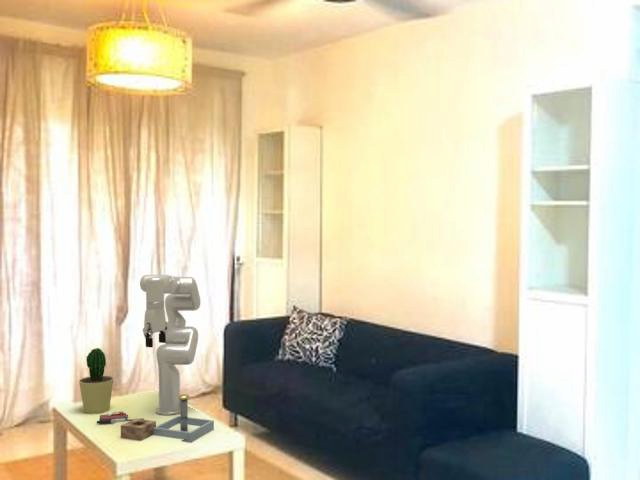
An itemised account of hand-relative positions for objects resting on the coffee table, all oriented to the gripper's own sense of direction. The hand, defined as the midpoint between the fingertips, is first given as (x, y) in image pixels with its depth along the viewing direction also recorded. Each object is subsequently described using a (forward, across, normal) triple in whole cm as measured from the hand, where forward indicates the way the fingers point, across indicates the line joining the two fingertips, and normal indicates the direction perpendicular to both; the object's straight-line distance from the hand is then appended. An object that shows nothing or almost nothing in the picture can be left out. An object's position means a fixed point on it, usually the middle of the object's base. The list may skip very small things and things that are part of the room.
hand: (155, 344), depth 285 cm
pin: (+34, +5, +17) cm, 39 cm away
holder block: (+35, +17, +2) cm, 39 cm away
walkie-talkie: (+36, +1, -18) cm, 41 cm away
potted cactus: (+36, -10, -40) cm, 55 cm away
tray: (+35, +5, +17) cm, 39 cm away
